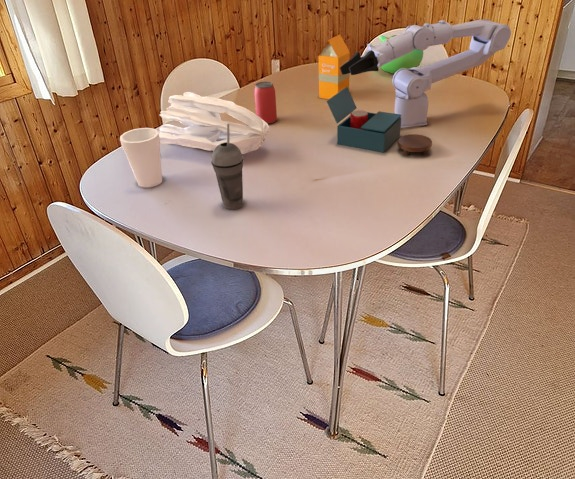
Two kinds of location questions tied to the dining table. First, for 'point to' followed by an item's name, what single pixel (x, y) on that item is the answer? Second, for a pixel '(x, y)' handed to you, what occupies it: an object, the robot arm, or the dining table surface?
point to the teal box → (371, 132)
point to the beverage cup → (229, 173)
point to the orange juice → (333, 67)
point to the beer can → (265, 101)
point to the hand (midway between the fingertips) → (345, 71)
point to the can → (358, 119)
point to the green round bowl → (402, 59)
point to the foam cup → (143, 155)
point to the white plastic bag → (210, 123)
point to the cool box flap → (341, 104)
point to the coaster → (414, 143)
